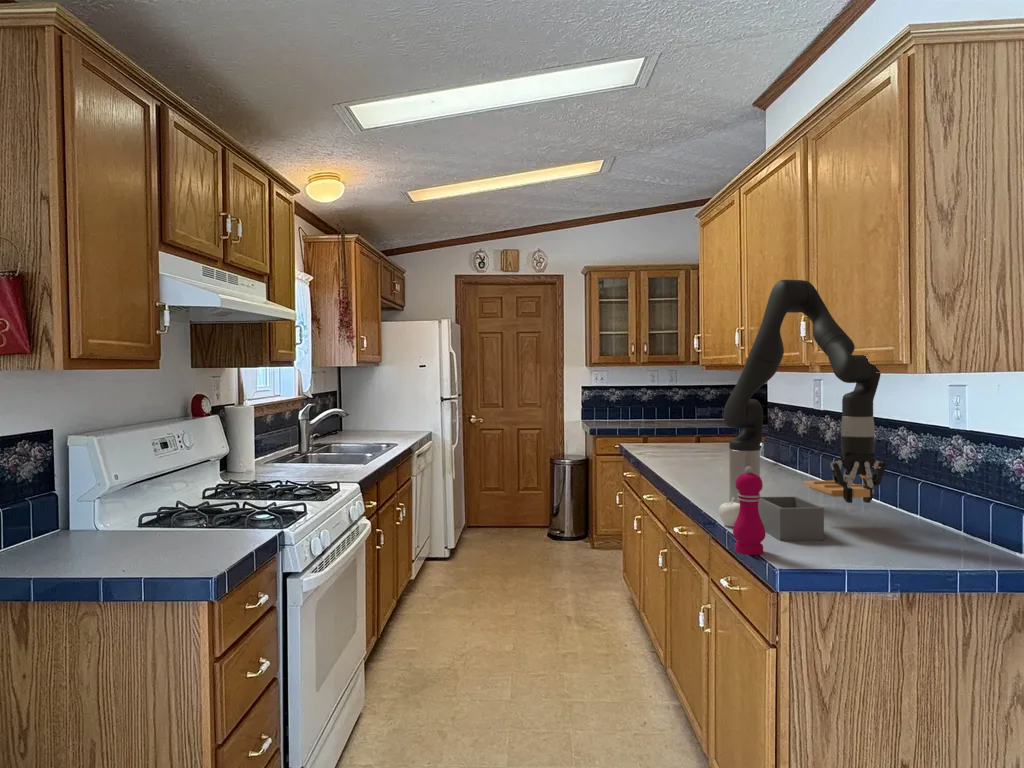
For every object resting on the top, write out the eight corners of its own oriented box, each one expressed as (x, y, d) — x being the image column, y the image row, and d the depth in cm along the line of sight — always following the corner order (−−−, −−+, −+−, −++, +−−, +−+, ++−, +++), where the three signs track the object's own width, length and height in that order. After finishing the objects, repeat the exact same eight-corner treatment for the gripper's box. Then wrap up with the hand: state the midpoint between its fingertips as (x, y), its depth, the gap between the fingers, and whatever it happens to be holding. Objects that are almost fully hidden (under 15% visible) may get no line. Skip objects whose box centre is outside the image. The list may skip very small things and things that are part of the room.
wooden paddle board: (803, 487, 191) (803, 477, 191) (842, 486, 191) (842, 477, 191) (840, 500, 170) (840, 490, 170) (883, 500, 171) (883, 489, 171)
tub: (755, 526, 186) (755, 496, 186) (795, 525, 187) (795, 496, 187) (780, 540, 170) (780, 508, 170) (823, 540, 171) (823, 508, 171)
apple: (725, 528, 184) (725, 499, 183) (714, 523, 191) (714, 494, 190) (750, 528, 184) (750, 498, 184) (739, 522, 191) (739, 493, 191)
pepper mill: (726, 549, 162) (726, 465, 162) (749, 546, 165) (749, 463, 165) (747, 557, 155) (747, 469, 155) (772, 553, 158) (772, 467, 158)
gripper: (877, 432, 176) (877, 499, 177) (822, 433, 176) (822, 500, 176) (894, 435, 169) (894, 504, 169) (837, 435, 169) (837, 505, 169)
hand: (857, 501), depth 173 cm, fingers closed on wooden paddle board, 4 cm apart
